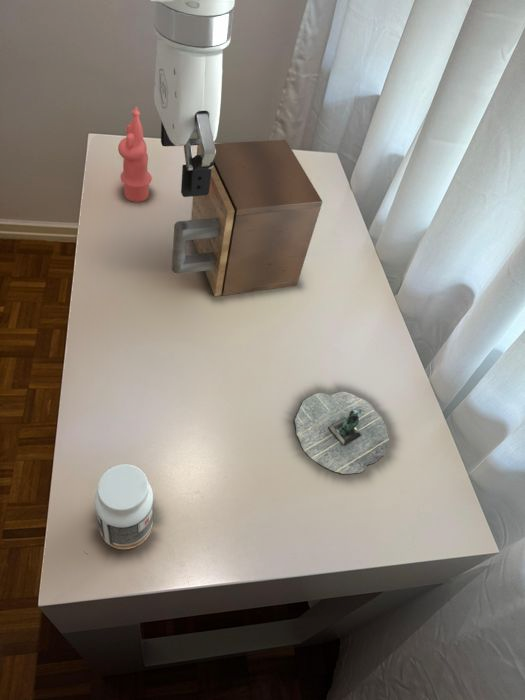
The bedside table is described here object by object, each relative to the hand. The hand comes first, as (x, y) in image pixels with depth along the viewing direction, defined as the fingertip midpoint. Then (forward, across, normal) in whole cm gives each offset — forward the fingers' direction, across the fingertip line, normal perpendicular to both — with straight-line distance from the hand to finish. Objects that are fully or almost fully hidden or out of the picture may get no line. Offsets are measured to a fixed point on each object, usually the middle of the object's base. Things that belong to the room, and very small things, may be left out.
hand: (184, 168), depth 69 cm
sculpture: (+20, +29, +14) cm, 38 cm away
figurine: (+20, -21, -2) cm, 29 cm away
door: (+20, -3, +2) cm, 20 cm away
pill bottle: (+20, +34, -14) cm, 42 cm away
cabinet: (+20, -3, +12) cm, 23 cm away
